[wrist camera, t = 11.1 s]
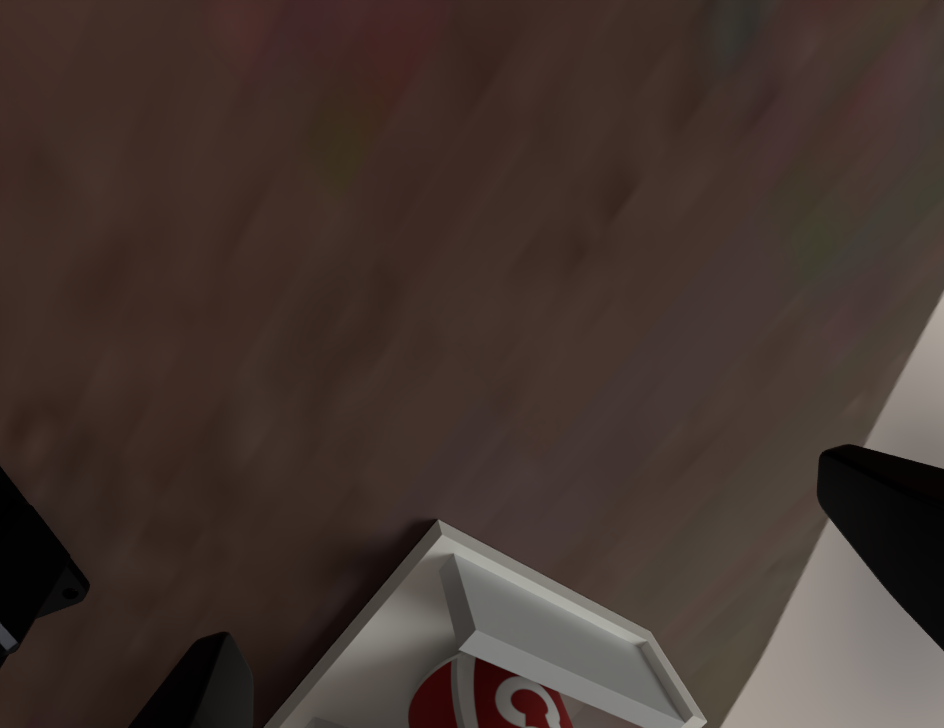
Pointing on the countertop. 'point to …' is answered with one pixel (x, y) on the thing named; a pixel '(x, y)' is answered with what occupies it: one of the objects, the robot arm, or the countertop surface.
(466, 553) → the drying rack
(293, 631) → the countertop surface
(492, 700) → the soda can
